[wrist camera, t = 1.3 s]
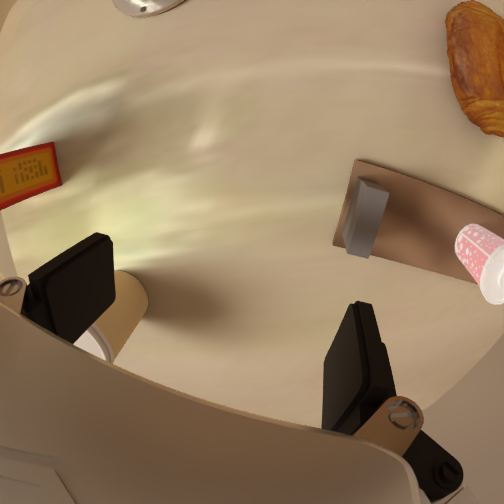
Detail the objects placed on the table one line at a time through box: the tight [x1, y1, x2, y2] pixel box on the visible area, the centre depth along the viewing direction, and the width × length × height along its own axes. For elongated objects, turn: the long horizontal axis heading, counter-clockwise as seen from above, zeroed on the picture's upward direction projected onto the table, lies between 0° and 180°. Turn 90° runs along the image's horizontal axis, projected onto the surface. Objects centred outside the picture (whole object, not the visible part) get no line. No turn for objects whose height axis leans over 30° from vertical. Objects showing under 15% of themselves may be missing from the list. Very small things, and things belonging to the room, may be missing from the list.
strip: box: [333, 160, 504, 284], centre depth 24 cm, size 9×22×6 cm, turn 80°
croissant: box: [445, 0, 504, 137], centre depth 16 cm, size 14×16×8 cm
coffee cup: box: [73, 271, 148, 364], centre depth 33 cm, size 9×9×12 cm
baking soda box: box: [0, 142, 62, 210], centre depth 26 cm, size 10×6×16 cm
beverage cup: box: [455, 224, 504, 305], centre depth 20 cm, size 6×6×14 cm
